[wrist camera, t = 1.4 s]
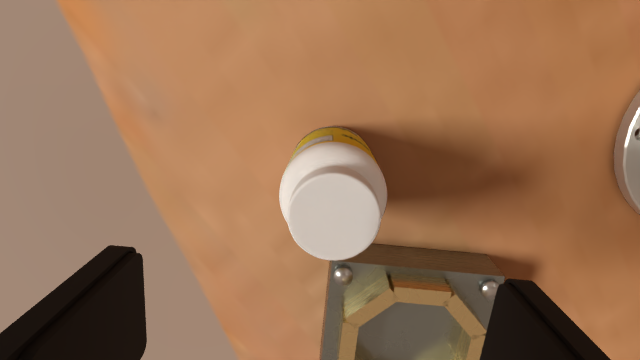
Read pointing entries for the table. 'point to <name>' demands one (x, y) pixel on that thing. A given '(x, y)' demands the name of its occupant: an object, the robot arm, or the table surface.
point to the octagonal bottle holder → (408, 305)
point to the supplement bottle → (333, 194)
